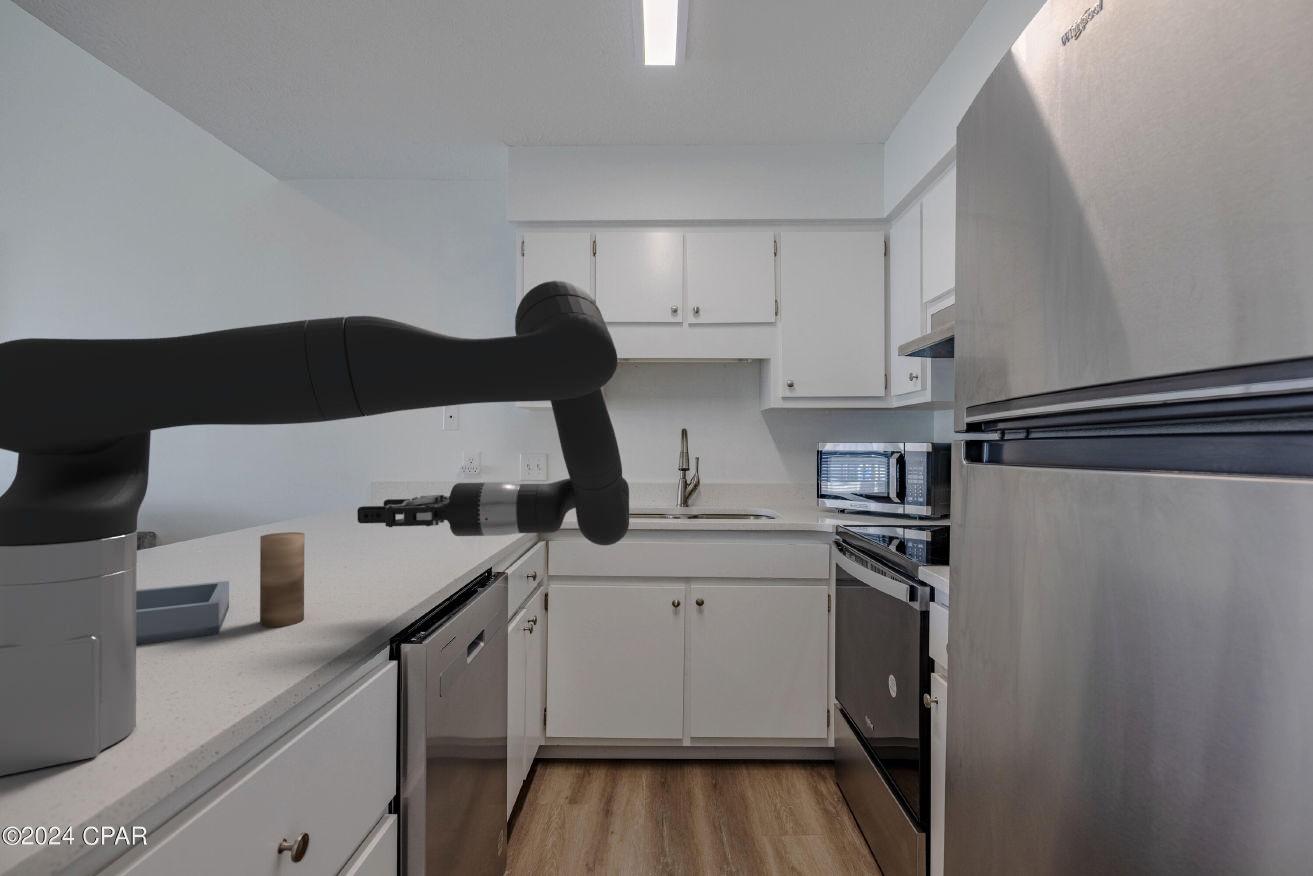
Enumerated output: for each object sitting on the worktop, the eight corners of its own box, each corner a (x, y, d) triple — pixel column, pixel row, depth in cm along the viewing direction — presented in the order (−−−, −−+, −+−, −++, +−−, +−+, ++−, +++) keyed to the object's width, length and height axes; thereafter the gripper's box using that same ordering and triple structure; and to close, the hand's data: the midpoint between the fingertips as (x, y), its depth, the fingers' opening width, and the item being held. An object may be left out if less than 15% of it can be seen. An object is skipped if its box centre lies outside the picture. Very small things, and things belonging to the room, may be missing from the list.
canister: (304, 623, 83) (304, 536, 83) (258, 629, 80) (259, 539, 80) (303, 614, 87) (304, 531, 87) (260, 619, 85) (261, 534, 85)
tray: (218, 633, 78) (218, 602, 78) (72, 653, 71) (72, 619, 71) (229, 607, 90) (229, 580, 90) (105, 621, 83) (105, 592, 83)
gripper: (475, 544, 78) (348, 546, 78) (499, 527, 93) (392, 529, 92) (475, 487, 78) (348, 488, 78) (499, 478, 93) (391, 480, 92)
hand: (372, 510), depth 85 cm, fingers open, 8 cm apart
